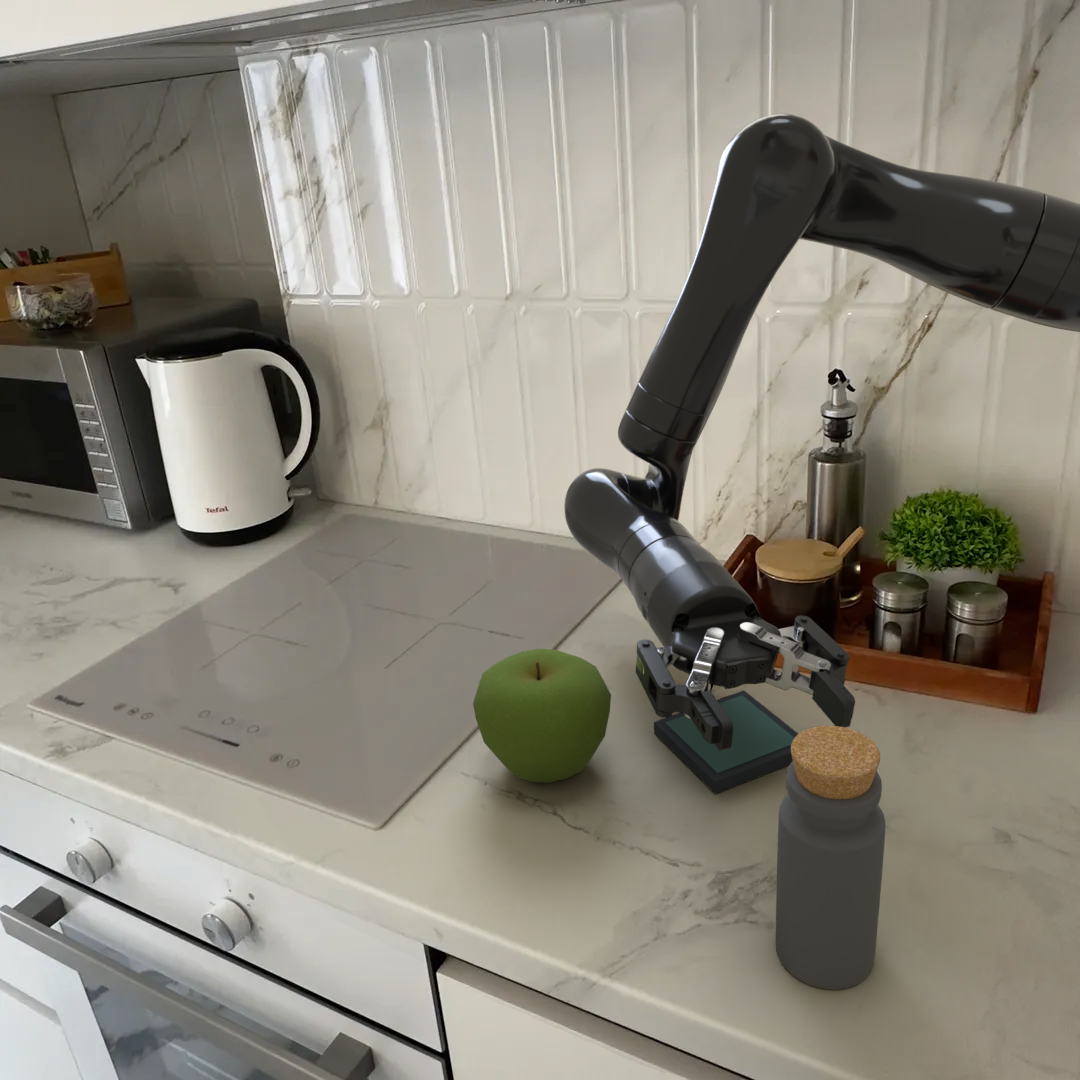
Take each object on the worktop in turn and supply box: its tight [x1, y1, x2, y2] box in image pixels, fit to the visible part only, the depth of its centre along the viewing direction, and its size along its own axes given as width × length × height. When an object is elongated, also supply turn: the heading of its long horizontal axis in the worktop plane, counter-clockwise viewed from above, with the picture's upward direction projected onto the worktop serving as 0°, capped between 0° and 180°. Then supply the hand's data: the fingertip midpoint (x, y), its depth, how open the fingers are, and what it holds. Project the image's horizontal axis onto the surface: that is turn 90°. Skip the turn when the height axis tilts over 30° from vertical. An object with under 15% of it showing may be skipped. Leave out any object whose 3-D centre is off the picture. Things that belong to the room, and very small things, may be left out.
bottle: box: [775, 725, 886, 991], centre depth 56 cm, size 6×6×15 cm
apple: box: [472, 648, 612, 784], centre depth 76 cm, size 11×10×10 cm
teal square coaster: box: [653, 690, 799, 795], centre depth 79 cm, size 9×9×1 cm
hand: (788, 728), depth 63 cm, fingers open, 8 cm apart
